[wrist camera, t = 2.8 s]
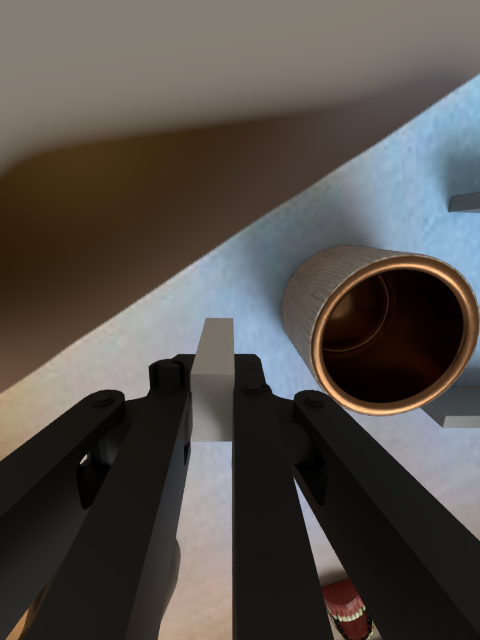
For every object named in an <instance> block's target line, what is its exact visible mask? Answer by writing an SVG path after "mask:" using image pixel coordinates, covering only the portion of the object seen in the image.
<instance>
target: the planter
mask: <svg viewBox="0 0 480 640" xmlns="http://www.w3.org/2000/svg"><path fill="white" fill-rule="evenodd" d="M282 320H283V325H284V328H285V331H286V333H287V335H288V337H289V339H290V341H291V342H292V344H293V345H294V347H295V349H296V350H297V352H298V353H299V355H300V356H301V358H302V359H303V361H304V362H305V364H306V366H307V367H308V369H309V370H310V372H311V374H312V375H313V377H314V379H315V380H316V382H317V383H318V385H319V386H320V388H321V389H322V390H323V392H324V393H325V394H327V395H328V396H330V397H331V398H333V399H334V400H335V401H336V402H337V403H338V404H339V405H340V406H341V407H343V408H345V409H347V410H350V411H352V412H355V413H358V414H362V415H368V416H391V415H398V414H402V413H406V412H409V411H412V410H415V409H417V408H419V407H422V406H424V405H426V404H427V403H429V402H431V401H432V400H434V399H436V398H437V397H438V396H440V395H441V394H442V393H444V392H445V391H446V390H447V389H448V388H449V387H450V386H451V385H452V384H453V383H454V382H455V381H456V380H457V379H458V378H459V376H460V375H461V374H462V372H463V371H464V370H465V368H466V366H467V365H468V363H469V361H470V359H471V357H472V355H473V353H474V350H475V347H476V344H477V341H478V336H479V330H480V312H479V306H478V302H477V299H476V296H475V294H474V291H473V289H472V287H471V286H470V284H469V283H468V281H467V280H466V279H465V277H464V276H463V275H462V274H461V273H460V272H459V271H458V270H456V269H455V268H454V267H452V266H451V265H450V264H448V263H446V262H444V261H442V260H440V259H437V258H435V257H432V256H428V255H423V254H417V253H409V252H400V251H391V250H384V249H376V248H369V247H362V246H353V245H345V246H337V247H333V248H329V249H326V250H323V251H321V252H319V253H317V254H315V255H313V256H312V257H310V258H309V259H308V260H306V261H305V262H304V263H303V264H302V265H301V266H300V267H299V268H298V269H297V270H296V271H295V273H294V274H293V275H292V277H291V278H290V280H289V282H288V284H287V286H286V289H285V292H284V295H283V300H282Z"/></svg>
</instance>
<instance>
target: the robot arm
mask: <svg viewBox="0 0 480 640" xmlns="http://www.w3.org/2000/svg"><path fill="white" fill-rule="evenodd" d="M149 379H150V390H149V392H148V394H147V396H145V397H143V398H138V399H133V400H127V401H125V395H124V394H123V393H122V392H121V391H117V390H101V391H98V392H95V393H92V394H90V395H88V396H87V397H85V398H83V399H82V400H81V401H80V402H78V403H77V404H76V405H74V406H73V407H72V408H70V409H69V410H68V411H66V412H65V413H64V414H62V415H61V416H60V417H58V418H57V419H56V420H54V421H53V422H52V423H50V424H49V425H48V426H46V427H45V428H44V429H42V430H41V431H40V432H39V433H37V434H36V435H35V436H33V437H32V438H31V439H29V440H28V441H27V442H25V443H24V444H23V445H21V446H20V447H19V448H17V449H16V450H15V451H13V452H12V453H11V454H9V455H8V456H7V457H5V458H4V459H3V460H2V461H0V640H5V639H6V638H7V637H8V635H9V634H10V632H11V631H12V630H13V628H14V627H15V626H16V624H17V623H18V622H19V620H20V619H21V617H22V616H23V615H24V613H25V612H26V611H27V609H28V608H29V609H28V613H27V617H26V621H25V625H24V628H23V630H22V633H21V635H20V637H19V639H18V640H158V634H159V629H160V623H161V620H162V618H163V615H164V613H165V611H166V609H167V606H168V604H169V602H170V599H171V597H172V595H173V592H174V590H175V587H176V584H177V580H178V573H179V566H180V559H181V554H180V548H179V545H178V542H177V540H176V533H177V527H178V521H179V516H180V510H181V504H182V499H183V493H184V487H185V482H186V476H187V470H188V465H189V459H190V453H191V442H190V439H191V434H192V441H232V634H233V640H334V637H333V633H332V629H331V625H330V621H329V617H328V613H327V609H326V605H325V601H324V597H323V593H322V589H321V586H320V582H319V578H318V574H317V570H316V566H315V562H314V558H313V554H312V550H311V546H310V542H309V538H308V534H307V530H306V526H305V522H304V518H303V514H302V510H301V506H300V502H299V498H298V494H297V490H296V486H295V482H294V479H295V480H296V482H297V484H298V486H299V488H300V489H301V491H302V493H303V495H304V497H305V499H306V500H307V502H308V504H309V506H310V508H311V509H312V511H313V513H314V515H315V517H316V519H317V520H318V522H319V524H320V526H321V528H322V529H323V531H324V533H325V535H326V537H327V539H328V540H329V542H330V544H331V546H332V548H333V549H334V551H335V553H336V555H337V557H338V559H339V560H340V562H341V564H342V566H343V568H344V569H345V571H346V573H347V575H348V577H349V579H350V580H351V582H352V584H353V586H354V588H355V589H356V591H357V593H358V595H359V597H360V599H361V600H362V602H363V604H364V606H365V608H366V609H367V611H368V613H369V615H370V617H371V619H372V620H373V622H374V624H375V626H376V628H377V629H378V631H379V633H380V635H381V637H382V639H383V640H480V541H479V540H478V539H477V538H476V537H475V536H474V535H473V534H472V533H471V532H470V531H469V530H468V529H467V528H466V527H465V526H464V525H463V524H461V523H460V522H459V521H458V520H457V519H456V518H455V517H454V516H453V515H452V514H451V513H450V512H449V511H448V510H447V509H446V508H445V507H444V506H443V505H442V504H441V503H440V502H439V501H438V500H437V499H436V498H435V497H434V496H433V495H432V494H431V493H429V492H428V491H427V490H426V489H425V488H424V487H423V486H422V485H421V484H420V483H419V482H418V481H417V480H416V479H415V478H414V477H413V476H412V475H411V474H410V473H409V472H408V471H407V470H406V469H405V468H404V467H403V466H402V465H401V464H400V463H399V462H398V461H396V460H395V459H394V458H393V457H392V456H391V455H390V454H389V453H388V452H387V451H386V450H385V449H384V448H383V447H382V446H381V445H380V444H379V443H378V442H377V441H376V440H375V439H374V438H373V437H372V436H371V435H370V434H369V433H368V432H367V431H366V430H364V429H363V428H362V427H361V426H360V425H359V424H358V423H357V422H356V421H355V420H354V419H353V418H352V417H351V416H350V415H349V414H348V413H347V412H346V411H345V410H344V409H343V408H342V407H341V406H340V405H339V404H338V403H337V402H336V401H335V400H334V399H333V398H331V397H330V396H328V395H327V394H325V393H322V392H320V391H315V390H304V391H300V392H298V393H297V394H295V396H294V400H289V399H285V398H281V397H278V396H276V395H274V394H272V390H271V388H270V386H269V385H267V384H266V381H265V377H264V372H263V368H262V364H261V359H260V358H259V357H258V356H256V355H255V354H234V332H233V318H206V320H205V324H204V327H203V331H202V334H201V338H200V341H199V345H198V349H197V352H196V354H178V355H176V356H175V357H174V358H172V359H164V360H159V361H156V362H154V363H152V364H151V365H150V366H149ZM86 454H87V459H86V460H85V461H84V462H83V463H82V464H80V462H81V460H82V459H83V458H84V456H85V455H86ZM293 477H294V478H293Z"/></svg>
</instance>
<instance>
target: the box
mask: <svg viewBox="0 0 480 640" xmlns="http://www.w3.org/2000/svg"><path fill="white" fill-rule="evenodd" d="M449 212H471V213H480V192H477V193H471V194H465V195H459V196H453V197H452V199H451V203H450V208H449ZM420 408H421V409H422V410H424V411H425V412H426V413H427V414H428V415H429V416H430V417H431V418H432V419H433V420H435V421H436V422H437V423H438V424H439V425H440V426H441V427H442V428H480V387H449V388H448V389H447V390H446V391H445V392H444V393H442V394H441V395H440V396H438V397H437V398H436V399H434V400H432V401H431V402H429V403H427V404H426V405H424V406H422V407H420Z"/></svg>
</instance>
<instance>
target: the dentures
mask: <svg viewBox="0 0 480 640" xmlns="http://www.w3.org/2000/svg"><path fill="white" fill-rule="evenodd" d="M321 589H322V593H323V597H324V601H325V603H326V606H327V608H328V610H329V614H330V617H331V620H332V622H333V624H334V626H335V628H336V629H337V631H338V632H339V634H340V635H341V636H342V637H343V639H344V640H370V638H371V636H372V634H373V628H374V622H373V620H372V619H371V617H370V615H369V613H368V611H367V609H366V608H365V606H364V604H363V602H362V600H361V599H360V597H359V595H358V593H357V591H356V589H355V588H354V586H353V584H352V582H351V580H350V579H347V580H344V581H340V582H337V583H334V584H330V585H327V586H324V587H321Z"/></svg>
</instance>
